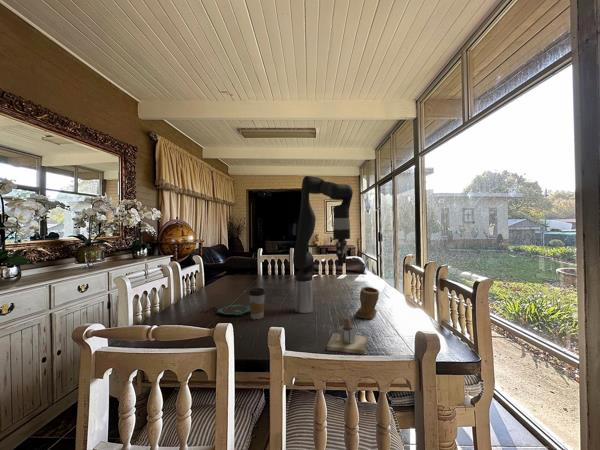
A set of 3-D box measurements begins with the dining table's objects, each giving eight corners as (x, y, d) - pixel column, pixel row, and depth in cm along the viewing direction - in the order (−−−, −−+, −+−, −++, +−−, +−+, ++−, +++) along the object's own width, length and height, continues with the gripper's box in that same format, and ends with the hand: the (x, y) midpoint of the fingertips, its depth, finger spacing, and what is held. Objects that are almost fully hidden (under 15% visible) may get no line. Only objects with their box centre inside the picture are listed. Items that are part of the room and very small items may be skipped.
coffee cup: (268, 317, 152) (267, 288, 152) (259, 321, 144) (259, 291, 144) (255, 315, 155) (254, 287, 156) (245, 319, 148) (245, 290, 148)
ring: (338, 342, 113) (338, 330, 113) (341, 337, 119) (341, 325, 119) (354, 344, 111) (354, 331, 111) (356, 338, 117) (355, 326, 117)
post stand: (326, 349, 110) (326, 322, 110) (333, 336, 124) (333, 312, 124) (364, 354, 106) (363, 325, 106) (367, 339, 119) (366, 314, 119)
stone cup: (376, 321, 142) (376, 291, 142) (353, 318, 147) (352, 289, 147) (382, 313, 156) (381, 285, 156) (360, 310, 161) (360, 283, 161)
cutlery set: (241, 319, 149) (240, 315, 149) (195, 314, 161) (195, 310, 161) (260, 309, 167) (260, 305, 167) (219, 305, 179) (219, 302, 179)
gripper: (336, 228, 138) (336, 262, 137) (330, 228, 124) (330, 266, 124) (352, 228, 135) (352, 262, 135) (347, 228, 122) (348, 266, 122)
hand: (342, 264), depth 130 cm, fingers open, 8 cm apart
